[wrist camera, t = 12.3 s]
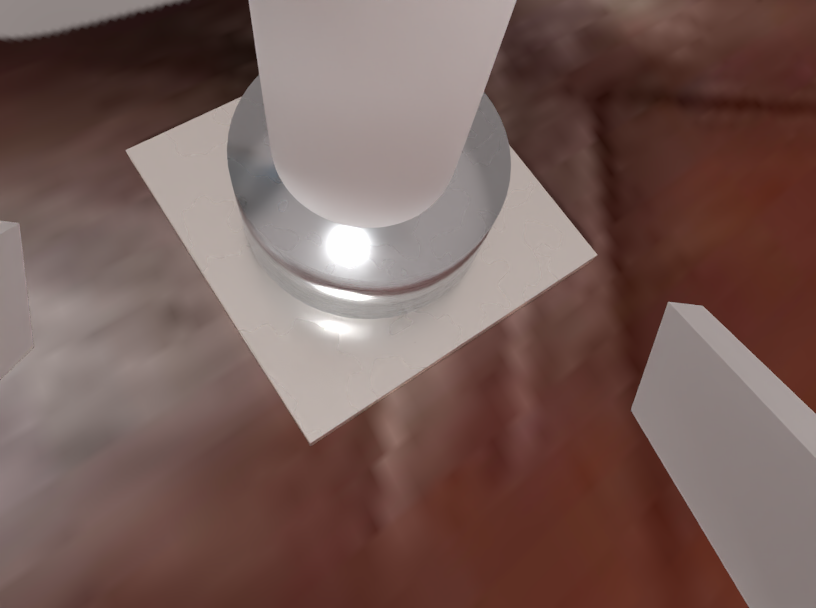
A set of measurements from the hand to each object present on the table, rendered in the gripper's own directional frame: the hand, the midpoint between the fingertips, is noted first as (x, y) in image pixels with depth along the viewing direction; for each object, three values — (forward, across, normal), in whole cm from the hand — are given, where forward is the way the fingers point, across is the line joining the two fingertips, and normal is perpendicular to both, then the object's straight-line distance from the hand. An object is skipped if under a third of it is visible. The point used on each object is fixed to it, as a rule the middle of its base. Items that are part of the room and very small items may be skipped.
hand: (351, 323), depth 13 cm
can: (+11, 0, +1) cm, 11 cm away
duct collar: (+14, 0, -2) cm, 14 cm away
